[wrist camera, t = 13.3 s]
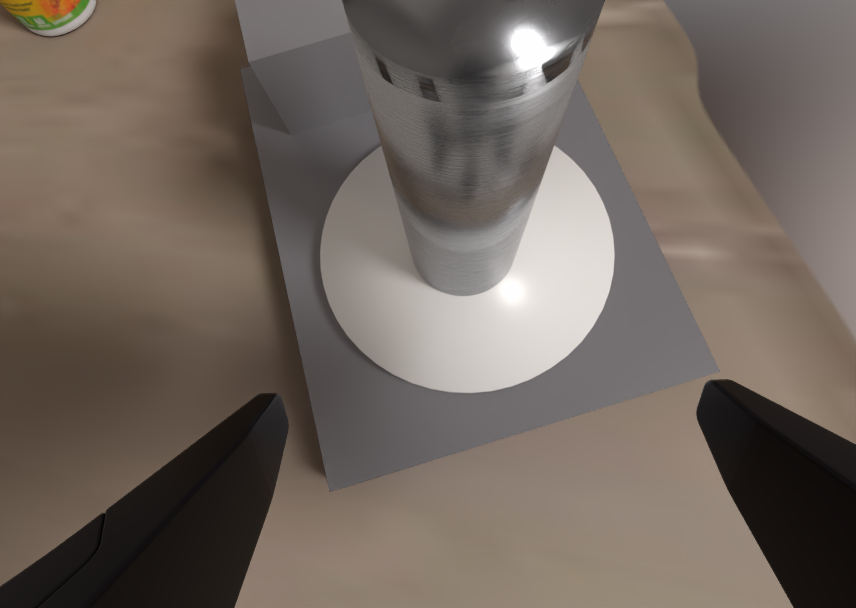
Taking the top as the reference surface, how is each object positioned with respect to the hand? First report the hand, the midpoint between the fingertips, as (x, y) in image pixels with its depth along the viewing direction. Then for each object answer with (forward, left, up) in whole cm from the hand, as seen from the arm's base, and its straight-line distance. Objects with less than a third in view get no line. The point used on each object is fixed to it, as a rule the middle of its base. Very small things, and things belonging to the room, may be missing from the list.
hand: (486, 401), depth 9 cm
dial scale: (+11, -2, -12) cm, 16 cm away
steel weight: (+7, -2, -10) cm, 12 cm away
